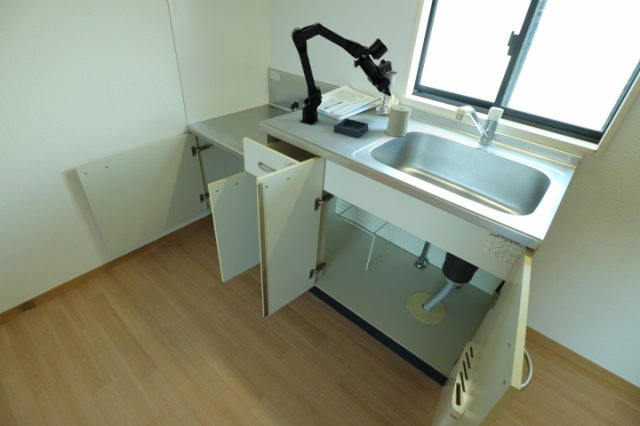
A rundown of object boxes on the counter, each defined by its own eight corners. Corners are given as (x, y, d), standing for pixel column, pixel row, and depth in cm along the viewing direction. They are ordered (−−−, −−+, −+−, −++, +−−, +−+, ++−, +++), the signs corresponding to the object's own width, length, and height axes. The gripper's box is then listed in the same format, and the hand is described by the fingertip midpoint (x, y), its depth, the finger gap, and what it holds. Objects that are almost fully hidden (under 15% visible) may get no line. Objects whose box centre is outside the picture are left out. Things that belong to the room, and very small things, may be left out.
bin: (333, 131, 146) (334, 125, 144) (345, 124, 154) (345, 118, 153) (357, 138, 142) (358, 131, 140) (367, 129, 150) (368, 123, 148)
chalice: (390, 114, 154) (398, 74, 144) (376, 113, 154) (383, 73, 144) (388, 110, 160) (395, 71, 150) (374, 109, 160) (380, 69, 150)
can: (387, 136, 145) (392, 109, 138) (384, 128, 153) (388, 102, 146) (408, 137, 145) (414, 110, 138) (403, 129, 153) (409, 103, 146)
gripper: (390, 58, 135) (409, 87, 143) (377, 50, 150) (396, 76, 158) (369, 78, 138) (389, 104, 146) (358, 67, 153) (377, 92, 161)
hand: (388, 93), depth 153 cm, fingers closed on chalice, 6 cm apart
